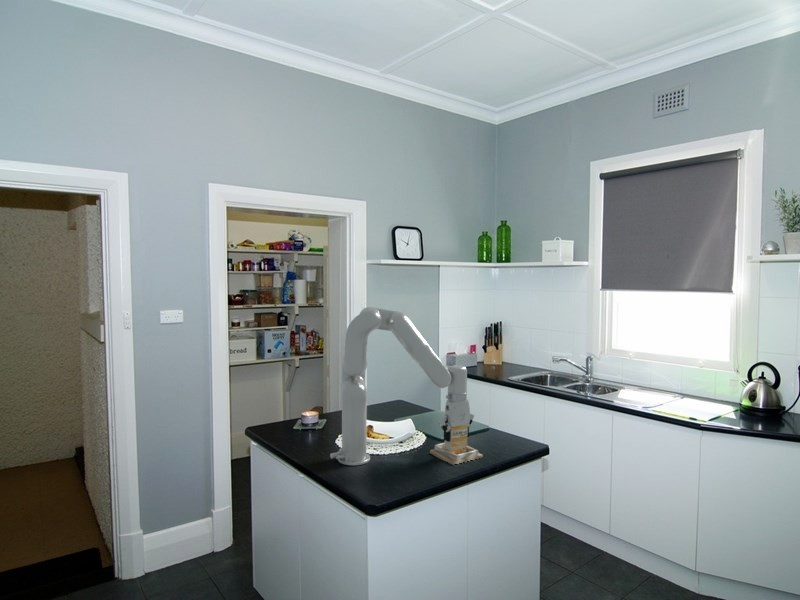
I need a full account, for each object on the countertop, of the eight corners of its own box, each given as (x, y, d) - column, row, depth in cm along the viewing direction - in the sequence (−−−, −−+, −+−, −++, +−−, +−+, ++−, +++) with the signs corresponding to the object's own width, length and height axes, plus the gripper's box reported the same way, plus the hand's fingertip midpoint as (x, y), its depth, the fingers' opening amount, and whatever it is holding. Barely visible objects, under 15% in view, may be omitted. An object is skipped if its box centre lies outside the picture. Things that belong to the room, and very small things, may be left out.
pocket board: (453, 465, 191) (453, 457, 190) (430, 453, 203) (430, 445, 203) (482, 457, 199) (482, 450, 199) (458, 446, 211) (458, 438, 211)
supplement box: (450, 456, 197) (451, 423, 196) (443, 452, 201) (444, 420, 200) (467, 452, 201) (468, 420, 200) (460, 448, 205) (461, 417, 204)
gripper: (445, 401, 192) (445, 445, 193) (479, 395, 201) (478, 437, 202) (434, 397, 198) (433, 439, 199) (467, 391, 207) (466, 432, 208)
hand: (456, 438), depth 201 cm, fingers open, 9 cm apart
